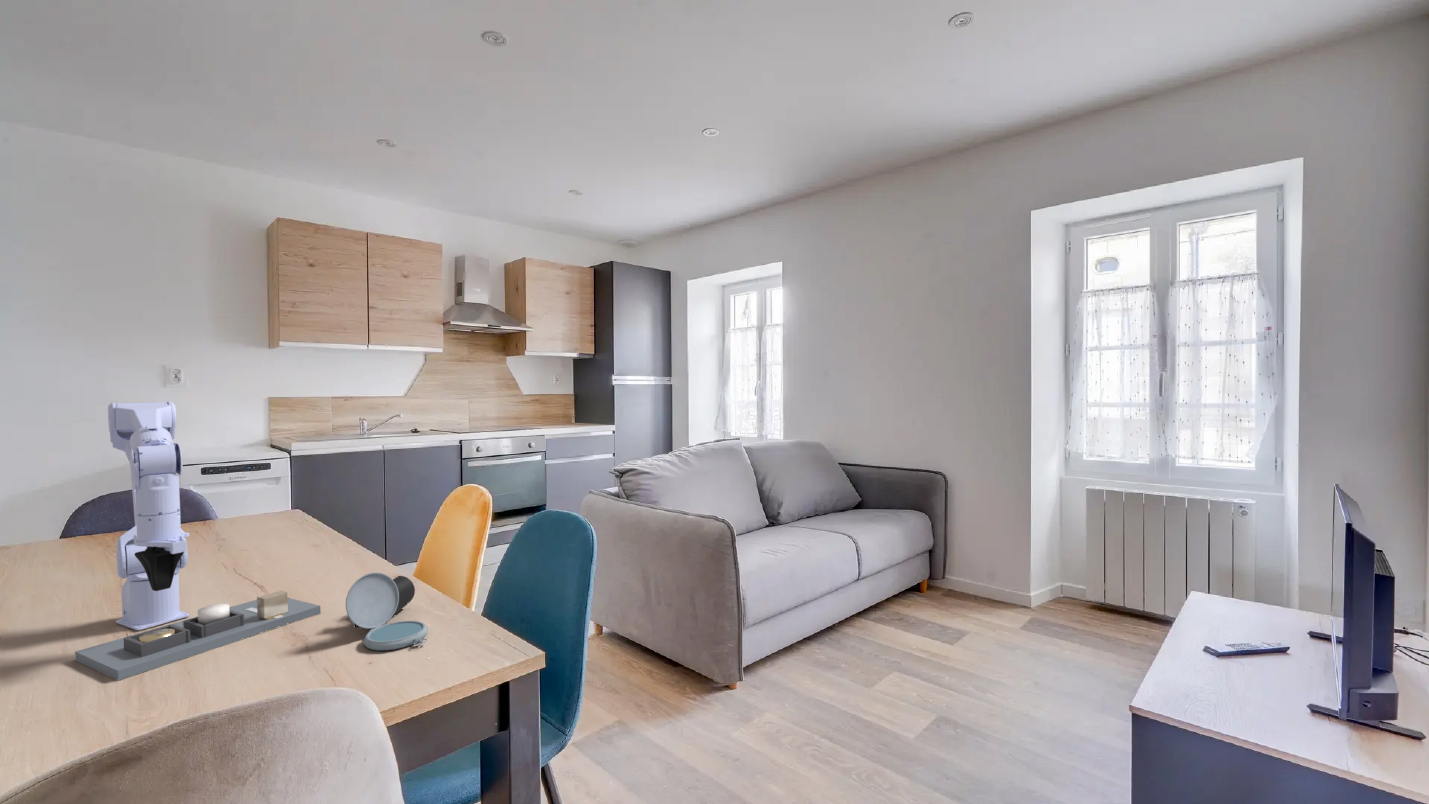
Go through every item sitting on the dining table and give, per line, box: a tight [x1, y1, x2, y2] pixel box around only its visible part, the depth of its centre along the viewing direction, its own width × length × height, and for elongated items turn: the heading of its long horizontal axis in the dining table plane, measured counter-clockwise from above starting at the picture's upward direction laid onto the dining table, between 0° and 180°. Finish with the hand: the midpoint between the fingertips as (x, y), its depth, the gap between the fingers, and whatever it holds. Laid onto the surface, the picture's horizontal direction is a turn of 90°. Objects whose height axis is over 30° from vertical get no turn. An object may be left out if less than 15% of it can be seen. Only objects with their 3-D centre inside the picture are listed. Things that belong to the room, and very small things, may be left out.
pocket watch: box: [345, 572, 429, 652], centre depth 106 cm, size 10×11×15 cm
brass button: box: [139, 629, 175, 643], centre depth 101 cm, size 4×4×2 cm
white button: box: [197, 603, 230, 624], centre depth 108 cm, size 4×4×2 cm
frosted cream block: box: [256, 589, 288, 619], centre depth 114 cm, size 2×4×4 cm, turn 153°
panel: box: [74, 597, 322, 681], centre depth 109 cm, size 16×30×4 cm, turn 153°
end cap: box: [353, 575, 416, 628], centre depth 116 cm, size 10×7×7 cm
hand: (161, 589), depth 106 cm, fingers closed
